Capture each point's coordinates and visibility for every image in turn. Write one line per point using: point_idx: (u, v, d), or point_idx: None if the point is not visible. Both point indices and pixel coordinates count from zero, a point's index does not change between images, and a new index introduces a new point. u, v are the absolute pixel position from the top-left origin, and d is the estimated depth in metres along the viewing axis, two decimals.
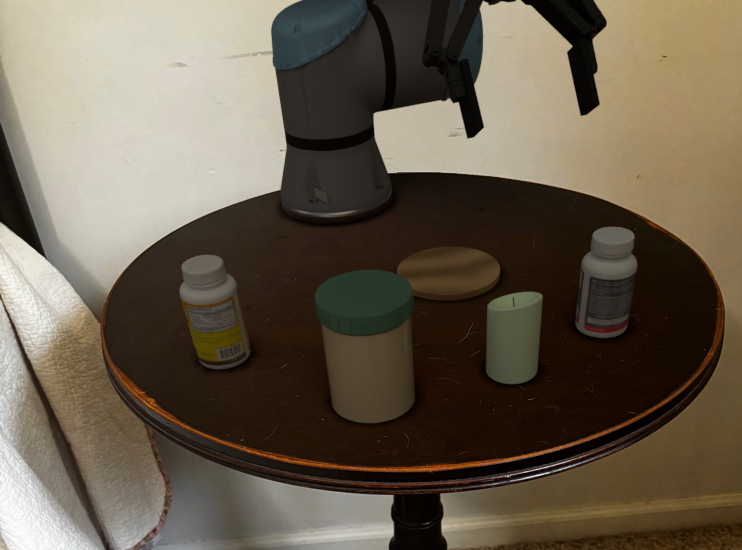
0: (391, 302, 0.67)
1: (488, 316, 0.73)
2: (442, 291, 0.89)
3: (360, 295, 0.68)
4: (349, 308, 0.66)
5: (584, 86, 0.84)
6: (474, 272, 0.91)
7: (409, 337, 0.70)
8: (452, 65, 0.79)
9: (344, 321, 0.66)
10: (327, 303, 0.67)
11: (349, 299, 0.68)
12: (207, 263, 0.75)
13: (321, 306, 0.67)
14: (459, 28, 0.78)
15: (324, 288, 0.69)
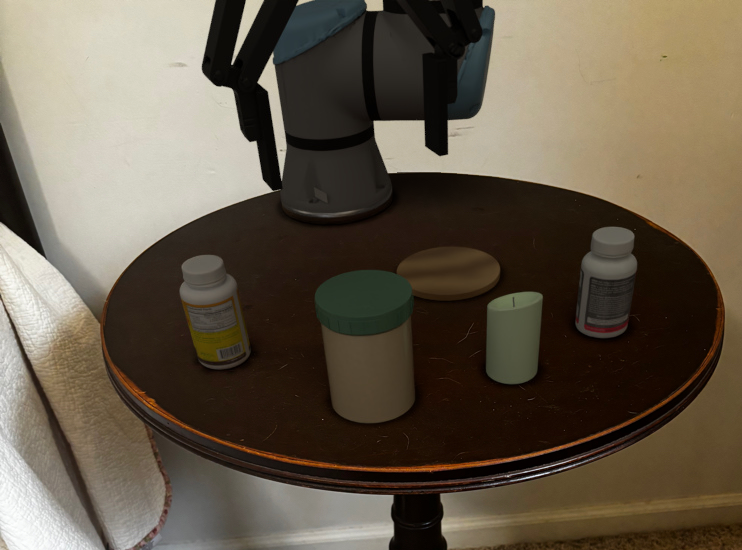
0: (391, 302, 0.67)
1: (488, 316, 0.73)
2: (442, 291, 0.89)
3: (360, 295, 0.68)
4: (349, 308, 0.66)
5: (433, 121, 0.61)
6: (474, 272, 0.91)
7: (409, 337, 0.70)
8: (244, 95, 0.54)
9: (344, 321, 0.66)
10: (327, 303, 0.67)
11: (349, 299, 0.68)
12: (207, 263, 0.75)
13: (321, 306, 0.67)
14: (259, 42, 0.52)
15: (324, 288, 0.69)
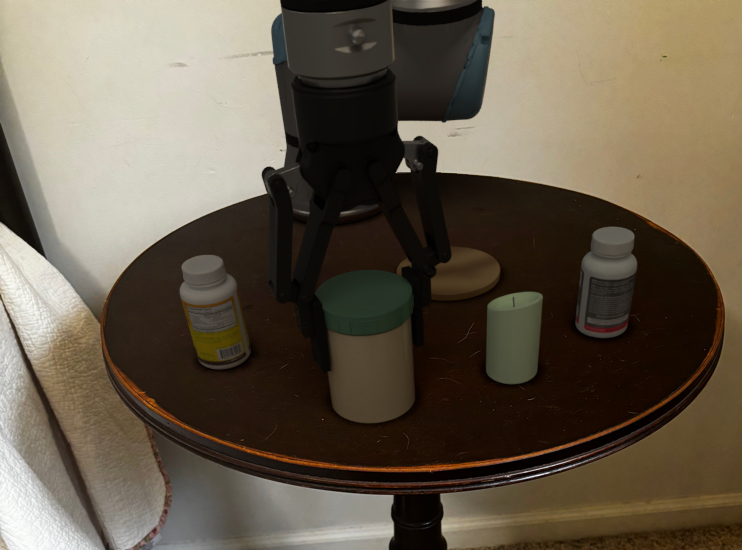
0: (391, 302, 0.67)
1: (488, 316, 0.73)
2: (442, 291, 0.89)
3: (360, 295, 0.68)
4: (349, 308, 0.66)
5: None
6: (474, 272, 0.91)
7: (409, 337, 0.70)
8: (305, 305, 0.66)
9: (344, 321, 0.66)
10: (327, 303, 0.67)
11: (349, 299, 0.68)
12: (207, 263, 0.75)
13: None
14: (308, 268, 0.64)
15: (324, 288, 0.69)
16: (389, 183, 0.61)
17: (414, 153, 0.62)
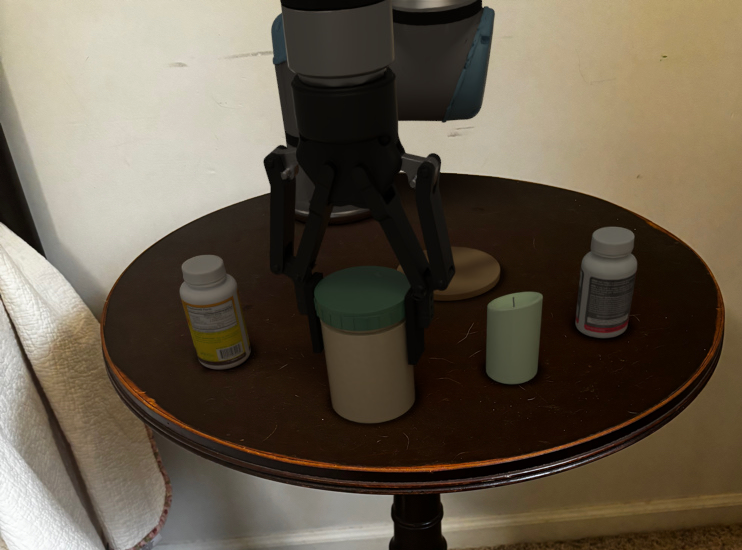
0: (358, 271, 0.70)
1: (488, 316, 0.73)
2: (442, 291, 0.89)
3: (369, 286, 0.68)
4: (393, 279, 0.69)
5: None
6: (474, 272, 0.91)
7: None
8: None
9: None
10: (402, 290, 0.68)
11: (381, 286, 0.68)
12: (207, 263, 0.75)
13: None
14: None
15: (384, 304, 0.66)
16: None
17: None
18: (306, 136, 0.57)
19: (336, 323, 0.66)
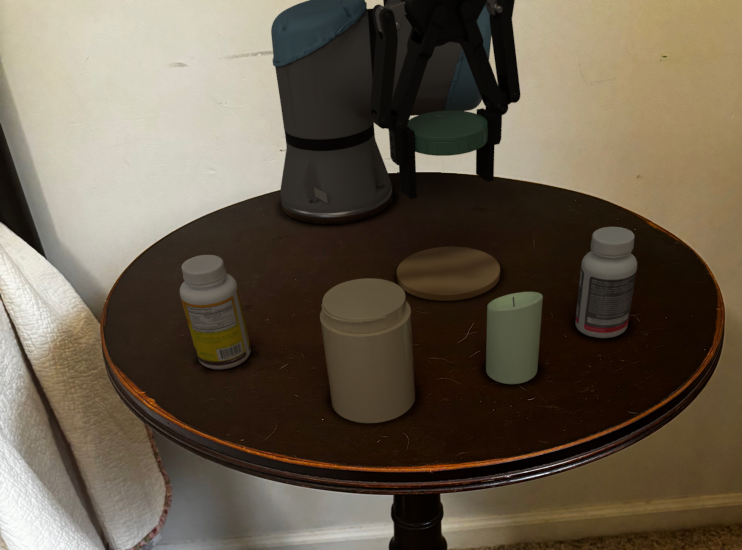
0: (422, 118, 0.83)
1: (488, 316, 0.73)
2: (442, 291, 0.89)
3: (448, 121, 0.82)
4: (455, 114, 0.83)
5: None
6: (474, 272, 0.91)
7: (409, 337, 0.70)
8: None
9: None
10: (474, 116, 0.82)
11: (457, 119, 0.82)
12: (207, 263, 0.75)
13: (478, 115, 0.83)
14: None
15: (480, 125, 0.80)
16: None
17: None
18: None
19: (454, 149, 0.79)
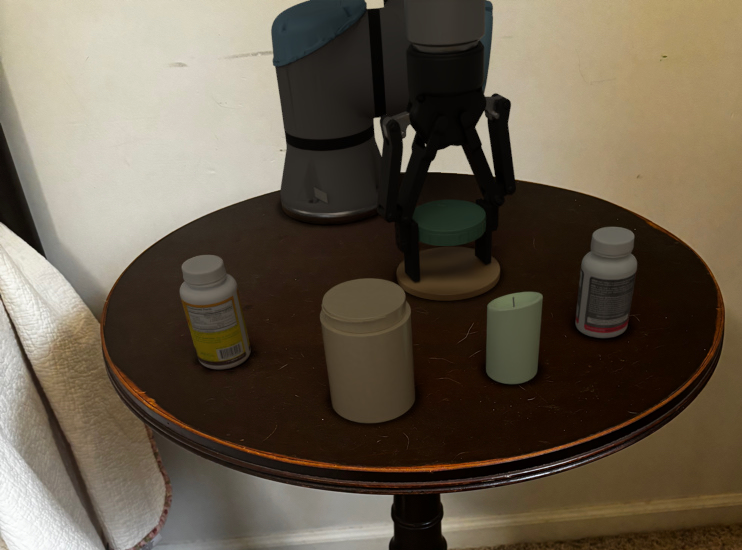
0: (425, 208, 0.89)
1: (488, 316, 0.73)
2: (442, 291, 0.89)
3: (449, 212, 0.88)
4: (456, 204, 0.90)
5: None
6: (474, 272, 0.91)
7: (409, 337, 0.70)
8: None
9: None
10: (473, 207, 0.89)
11: (457, 210, 0.89)
12: (207, 263, 0.75)
13: (477, 205, 0.89)
14: None
15: (479, 216, 0.87)
16: None
17: None
18: (440, 94, 0.76)
19: (455, 241, 0.86)
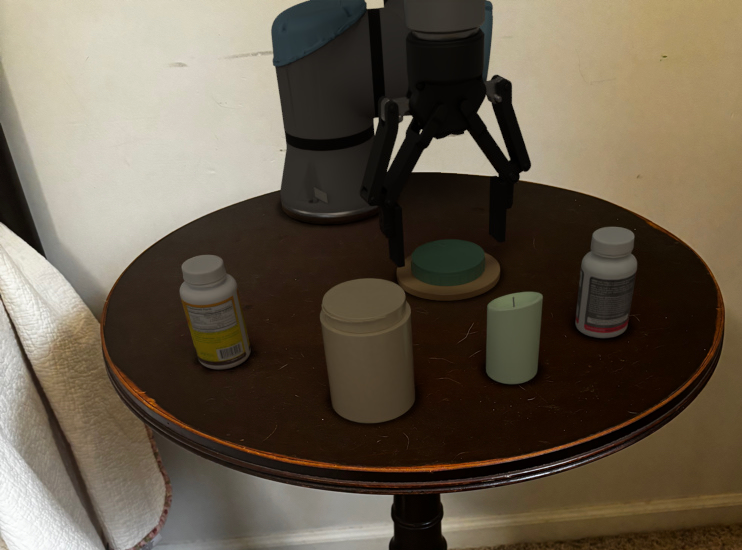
0: (426, 248, 0.93)
1: (488, 316, 0.73)
2: (442, 291, 0.89)
3: (449, 252, 0.92)
4: (456, 244, 0.93)
5: None
6: None
7: (409, 337, 0.70)
8: None
9: None
10: (473, 247, 0.92)
11: (457, 250, 0.92)
12: (207, 263, 0.75)
13: (477, 245, 0.93)
14: None
15: (478, 257, 0.90)
16: None
17: None
18: (440, 82, 0.75)
19: (455, 281, 0.89)
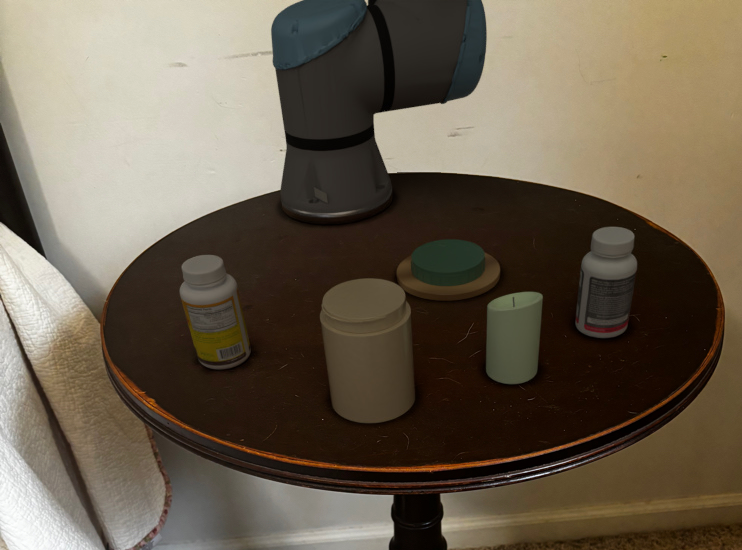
0: (426, 248, 0.93)
1: (488, 316, 0.73)
2: (442, 291, 0.89)
3: (449, 252, 0.92)
4: (456, 244, 0.93)
5: None
6: None
7: (409, 337, 0.70)
8: None
9: None
10: (473, 247, 0.92)
11: (457, 250, 0.92)
12: (207, 263, 0.75)
13: (477, 245, 0.93)
14: None
15: (478, 257, 0.90)
16: None
17: None
18: None
19: (455, 281, 0.89)
